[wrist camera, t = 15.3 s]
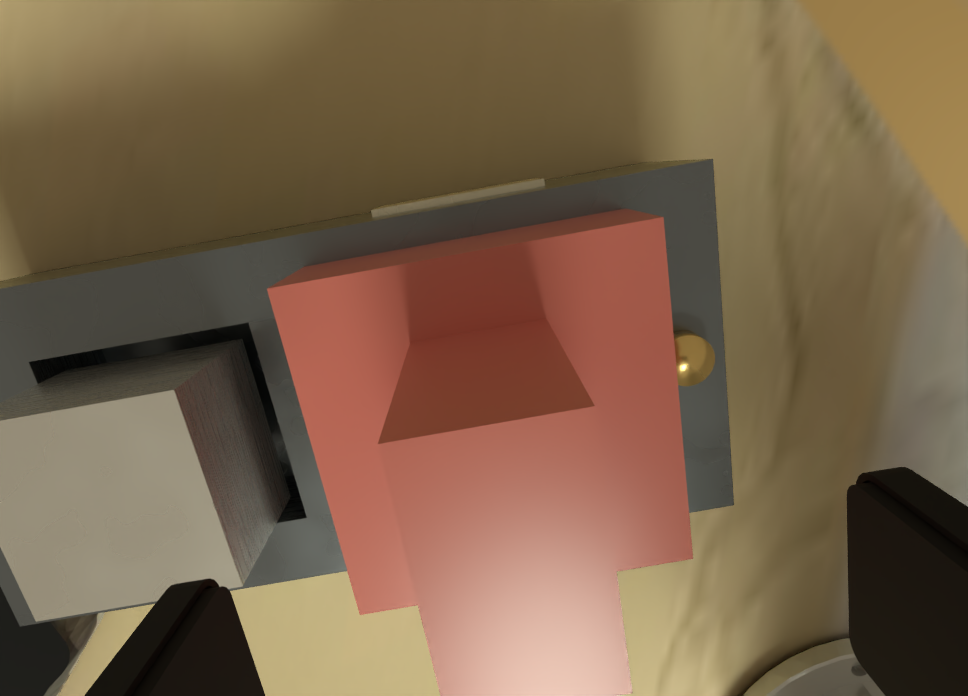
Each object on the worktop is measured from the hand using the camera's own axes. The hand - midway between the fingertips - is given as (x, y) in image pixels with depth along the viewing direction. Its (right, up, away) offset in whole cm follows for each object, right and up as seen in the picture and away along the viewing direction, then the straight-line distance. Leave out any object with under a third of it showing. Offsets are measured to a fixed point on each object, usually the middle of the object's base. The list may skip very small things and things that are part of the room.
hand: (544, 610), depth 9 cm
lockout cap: (-1, +3, +8) cm, 8 cm away
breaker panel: (-5, +4, +13) cm, 15 cm away
